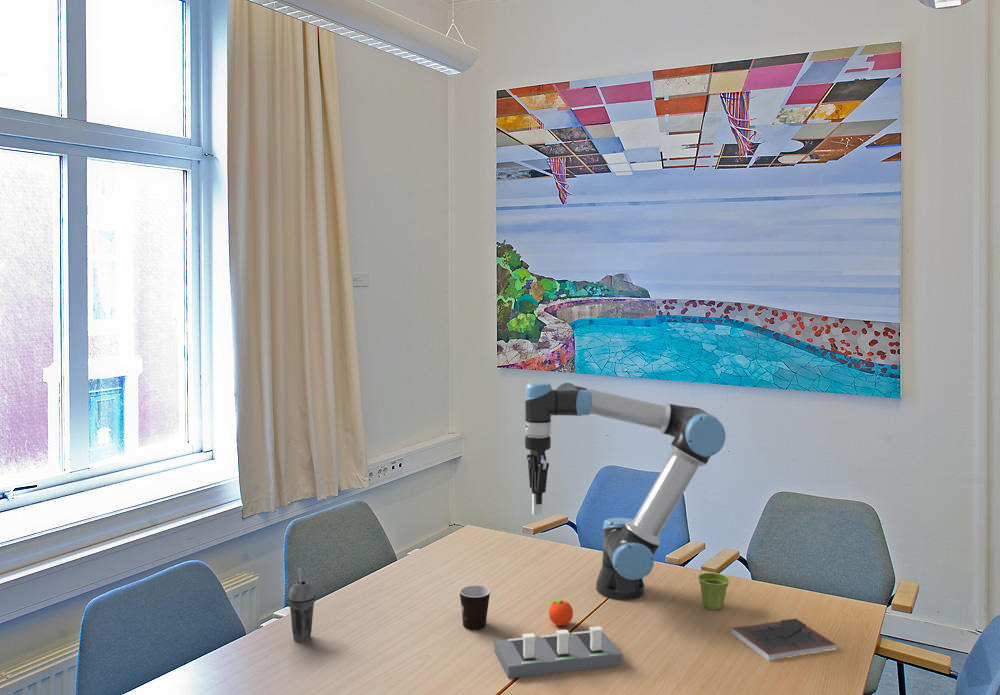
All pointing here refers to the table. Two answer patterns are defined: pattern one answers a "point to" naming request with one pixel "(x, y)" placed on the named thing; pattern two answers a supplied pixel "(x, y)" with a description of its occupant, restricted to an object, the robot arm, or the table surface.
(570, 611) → the clementine
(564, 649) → the switch middle
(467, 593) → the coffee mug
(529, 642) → the switch
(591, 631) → the switch
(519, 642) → the switch panel
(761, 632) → the brown book
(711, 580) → the plant pot
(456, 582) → the table surface
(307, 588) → the beverage cup
